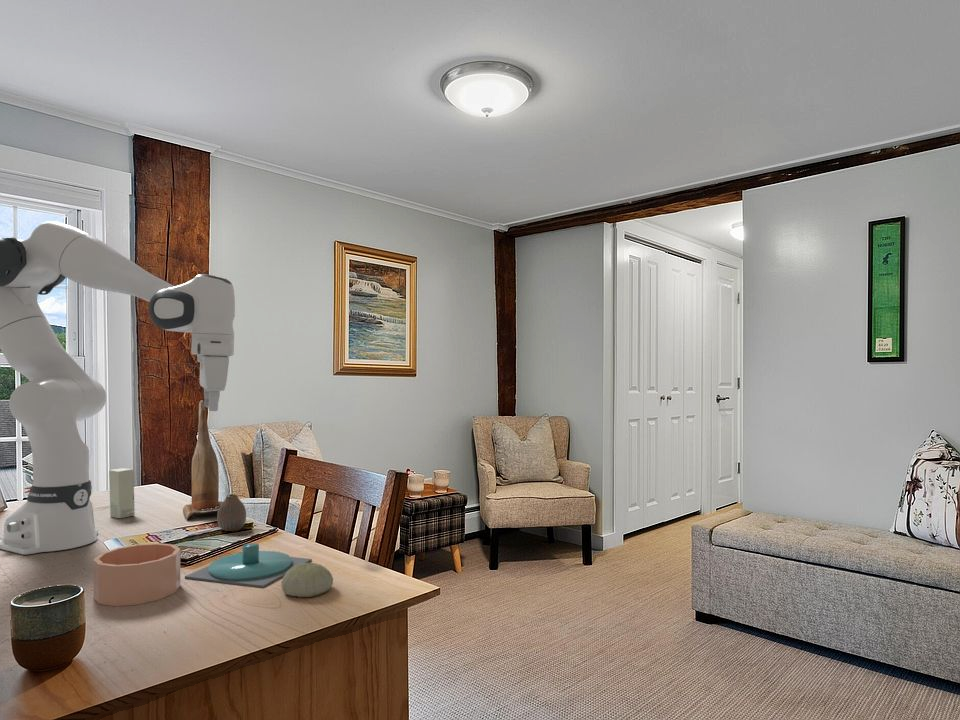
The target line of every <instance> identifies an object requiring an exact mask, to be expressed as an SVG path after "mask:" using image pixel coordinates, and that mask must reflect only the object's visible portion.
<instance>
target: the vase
mask: <svg viewBox="0 0 960 720" xmlns="http://www.w3.org/2000/svg"><path fill="white" fill-rule="evenodd" d="M222 502H223V503H222V504H221V505H220V507H219V506H218V507H219V509H218V510H217V513H216V520H217V524H218V526H219V528H220V529H221V530H222V531H223V530H225V531H224V532H226V531H232V532H238V531H240V530H241V529H242V528H243V526H244V525H245V523H246V520H247V510H246V506H245V504H244V503H243V501H242V500H240V499H239V497H238V494H235V493H229V494H227V495H226V497H225V499H224V500H223V501H222Z"/></svg>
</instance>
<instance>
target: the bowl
mask: <svg viewBox="0 0 960 720" xmlns="http://www.w3.org/2000/svg"><path fill="white" fill-rule="evenodd" d="M180 587H181V548H179V547H178V546H177V545H175V544H169V543H162V542H161V543H160V542H157V543H156V542H155V543H154V542H153V543H138V544H133V545H132V544H131V545H127V546H122V547H120V546H119V547H116V548H114V549H110V550H108V551H104V552H102V553H99V554H98V555H97V556H96V557H95V558H93V600H95V602H96V603H97V604H98V605H103V606H109V607H110V606H112V607H122V606H124V607H125V606H135V605H136V606H138V605H143V604H146V603H151V602H155V601H159V600H162V599H164V598H166V597H169V596H171V595H172V594H175V593H177V591H179V588H180Z"/></svg>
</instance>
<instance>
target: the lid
mask: <svg viewBox="0 0 960 720" xmlns="http://www.w3.org/2000/svg"><path fill="white" fill-rule="evenodd" d="M241 552H242V553H238V552H237V554H236V553H233V554H229V555H226V556H222V557H219V558H217V559H215V560H213V561H211V563H209V565H208V566H209V575H210V576H212V577H214V578H217V579H221V580H232V581H241V580H253V579H260V578H265V577H269V576H273V575H276V574H279V573H281V572H283V571H285V570H287V569H288V568H289V567H290V566H291V557H292V556H291V555H289V554H287V553H285V552H284V553H283V552H280V551H276V550H275V551H273V550H272V551H271V550H260V544H258V542H257V543H256V542H254V543H253V542H252V543H251V542H250V543H246V544H243V545H242V550H241Z"/></svg>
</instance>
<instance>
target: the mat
mask: <svg viewBox="0 0 960 720" xmlns="http://www.w3.org/2000/svg"><path fill="white" fill-rule="evenodd" d="M237 553H242V551H239V552H237ZM237 553H235V554H237ZM290 557H291V566H290V567H289V568H288V569H287V570H285V571H283V572H281V573H279V574H276V575H273V576H269V577H265V578H260V579H253V580H241V581H232V580H221V579H217V578H214V577H212V576H210V575H209V565H207V566H204V567H203V568H200V569H198V570H196V571H194V572H191V573H189V574H187V575H184V579H186V580H195V581H203V582H204V581H205V582H213V583H221V584H229V585H236V586H237V585H238V586H244V587H245V586H246V587H255V588H262V589H263V588H265V587H267V586H269V585H271V584H273V583H275V582H276V581H278V580H280V579H281V578H283V577H284V575H285V573H286V572H287V571H288V570H289V569H290V568H291V567H293V566H295V565H297V564H302V563H311V562H312V558H307V557H306V558H305V557H304V558H303V557H296V556H295V557H294V556H290Z"/></svg>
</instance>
